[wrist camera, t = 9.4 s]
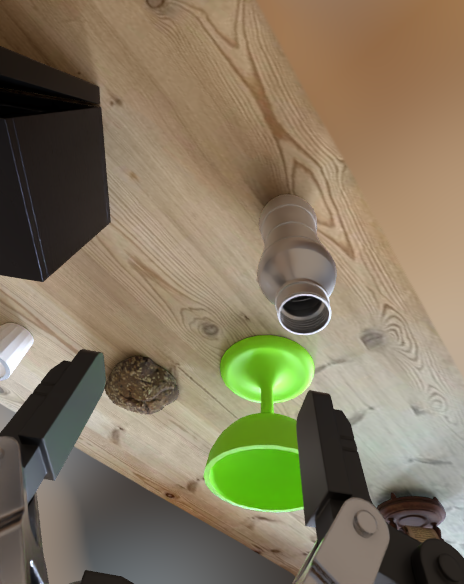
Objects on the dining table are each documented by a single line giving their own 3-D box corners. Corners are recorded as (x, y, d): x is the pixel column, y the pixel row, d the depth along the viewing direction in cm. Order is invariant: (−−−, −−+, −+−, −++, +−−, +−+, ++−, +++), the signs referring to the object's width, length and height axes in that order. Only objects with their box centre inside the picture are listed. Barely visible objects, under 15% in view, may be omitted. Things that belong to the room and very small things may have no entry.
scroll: (451, 492, 69) (511, 620, 53) (426, 521, 78) (471, 640, 61) (383, 485, 70) (422, 609, 53) (366, 514, 78) (394, 630, 62)
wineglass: (219, 397, 58) (204, 505, 43) (219, 331, 49) (201, 438, 34) (306, 404, 57) (322, 517, 42) (322, 338, 48) (350, 452, 33)
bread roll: (99, 381, 58) (86, 404, 54) (132, 346, 53) (121, 368, 48) (156, 413, 62) (148, 436, 58) (192, 383, 56) (187, 407, 52)
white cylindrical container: (-10, 317, 51) (-45, 346, 46) (31, 322, 51) (2, 352, 45) (3, 347, 55) (-28, 378, 49) (41, 352, 55) (15, 384, 49)
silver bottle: (292, 250, 41) (313, 363, 24) (248, 223, 39) (238, 323, 22) (325, 208, 37) (376, 306, 21) (278, 177, 36) (293, 255, 19)
